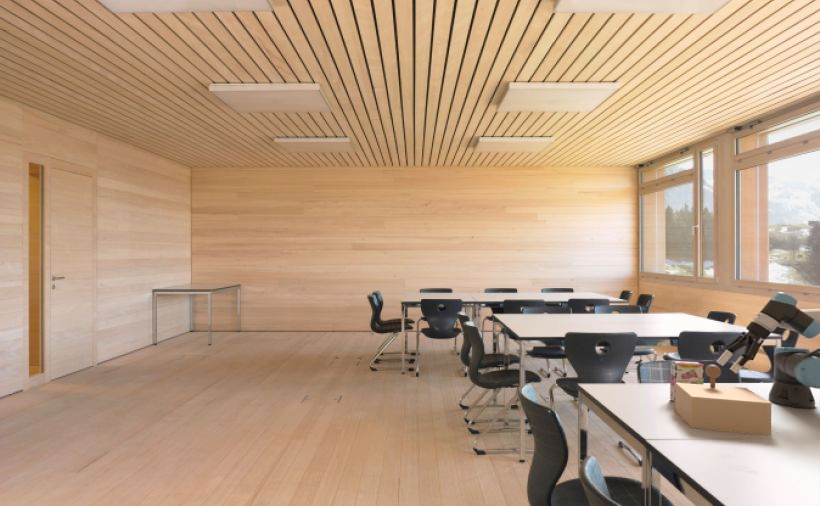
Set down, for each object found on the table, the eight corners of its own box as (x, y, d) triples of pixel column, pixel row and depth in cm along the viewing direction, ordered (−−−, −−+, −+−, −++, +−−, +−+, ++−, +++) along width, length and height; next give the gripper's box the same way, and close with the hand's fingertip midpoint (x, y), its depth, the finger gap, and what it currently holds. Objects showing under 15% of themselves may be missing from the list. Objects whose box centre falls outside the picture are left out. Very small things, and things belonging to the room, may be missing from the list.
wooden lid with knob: (745, 389, 180) (746, 365, 180) (771, 405, 160) (771, 377, 160) (675, 384, 186) (675, 360, 186) (691, 398, 166) (692, 372, 166)
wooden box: (745, 416, 180) (745, 390, 180) (771, 435, 160) (771, 405, 160) (674, 410, 185) (675, 384, 186) (691, 427, 166) (691, 399, 166)
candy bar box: (674, 403, 195) (675, 363, 195) (669, 399, 200) (670, 360, 200) (703, 404, 194) (704, 364, 194) (697, 401, 199) (698, 361, 199)
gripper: (739, 316, 203) (706, 355, 206) (768, 324, 179) (730, 368, 182) (755, 327, 202) (722, 366, 205) (787, 337, 178) (748, 381, 180)
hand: (726, 367), depth 193 cm, fingers open, 13 cm apart
